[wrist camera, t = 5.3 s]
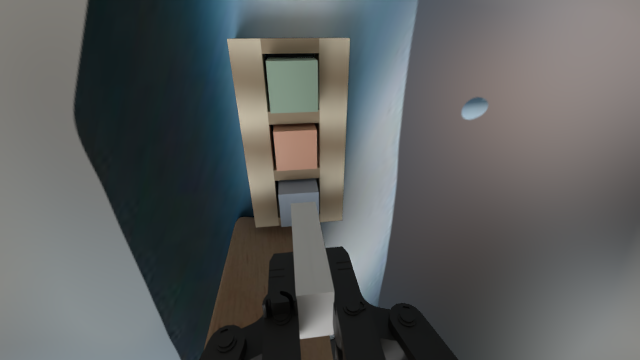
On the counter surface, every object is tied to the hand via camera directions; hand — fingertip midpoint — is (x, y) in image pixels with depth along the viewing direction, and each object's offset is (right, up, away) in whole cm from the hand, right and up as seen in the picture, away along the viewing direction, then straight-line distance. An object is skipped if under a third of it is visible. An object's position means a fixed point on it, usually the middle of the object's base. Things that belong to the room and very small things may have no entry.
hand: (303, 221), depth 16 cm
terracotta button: (-2, +7, +12) cm, 15 cm away
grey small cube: (-2, +1, +14) cm, 14 cm away
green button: (-2, +12, +8) cm, 15 cm away
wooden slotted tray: (-2, +8, +13) cm, 15 cm away
